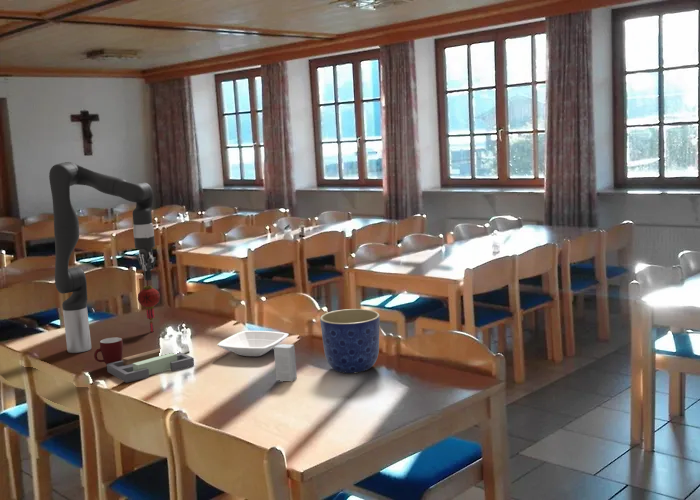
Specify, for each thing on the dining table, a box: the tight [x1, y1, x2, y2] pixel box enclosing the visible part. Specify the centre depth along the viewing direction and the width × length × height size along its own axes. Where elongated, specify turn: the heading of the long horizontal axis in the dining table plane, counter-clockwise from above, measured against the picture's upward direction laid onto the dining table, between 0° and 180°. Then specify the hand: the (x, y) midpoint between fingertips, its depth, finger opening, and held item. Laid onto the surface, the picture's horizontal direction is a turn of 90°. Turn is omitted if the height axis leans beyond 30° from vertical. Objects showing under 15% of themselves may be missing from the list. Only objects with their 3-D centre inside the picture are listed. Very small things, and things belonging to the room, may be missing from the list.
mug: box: [93, 336, 124, 366], centre depth 303 cm, size 11×8×10 cm
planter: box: [319, 308, 381, 374], centre depth 285 cm, size 21×21×19 cm
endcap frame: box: [106, 351, 195, 384], centre depth 299 cm, size 18×26×3 cm
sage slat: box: [133, 353, 177, 376], centre depth 295 cm, size 4×16×5 cm, turn 135°
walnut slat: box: [122, 347, 162, 366], centre depth 302 cm, size 4×16×5 cm, turn 134°
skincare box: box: [273, 343, 298, 382], centre depth 277 cm, size 6×4×12 cm
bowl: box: [216, 330, 289, 357], centre depth 311 cm, size 22×23×6 cm
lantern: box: [137, 280, 161, 333], centre depth 350 cm, size 10×10×30 cm
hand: (148, 280), depth 315 cm, fingers closed
